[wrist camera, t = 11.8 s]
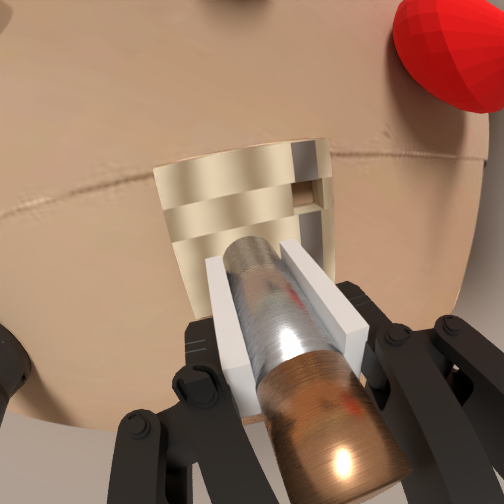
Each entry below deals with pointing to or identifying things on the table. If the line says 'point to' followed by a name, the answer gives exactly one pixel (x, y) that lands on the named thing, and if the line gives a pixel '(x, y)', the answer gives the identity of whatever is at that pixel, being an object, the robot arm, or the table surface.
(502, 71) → the vase
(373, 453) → the silver and copper cylinder
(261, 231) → the panel
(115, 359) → the table surface
